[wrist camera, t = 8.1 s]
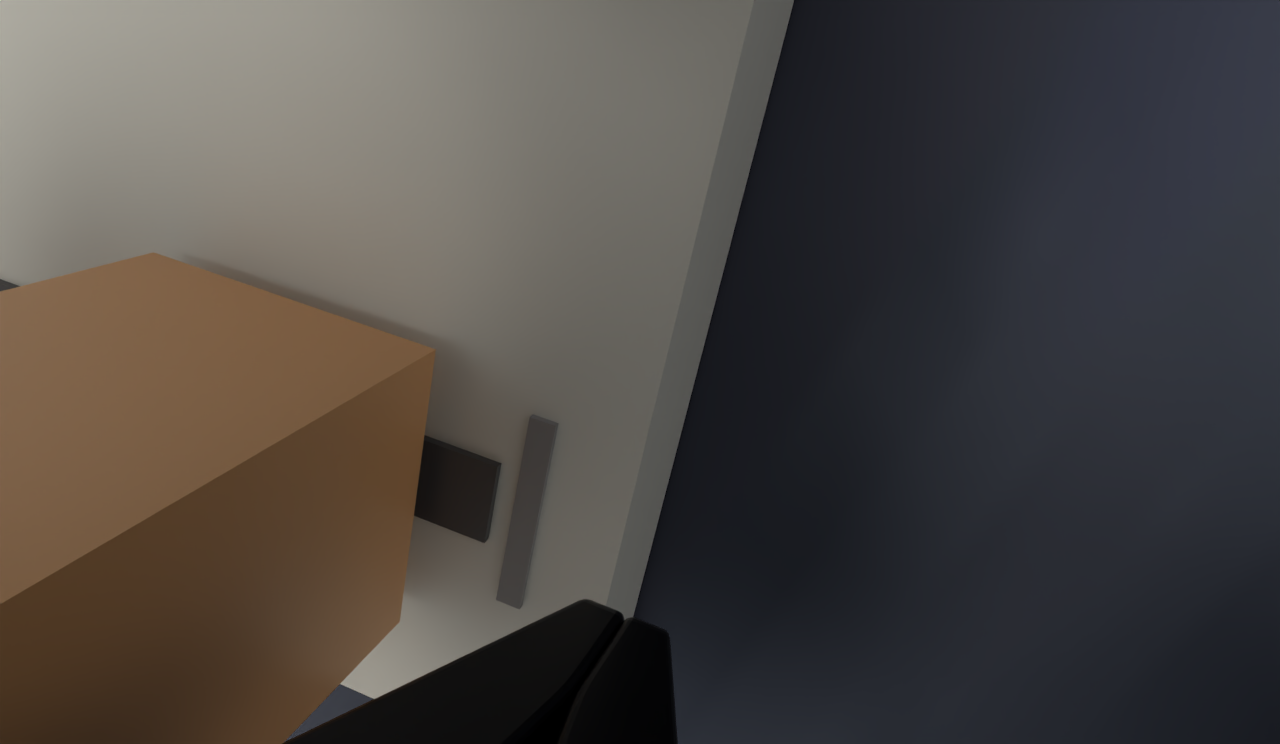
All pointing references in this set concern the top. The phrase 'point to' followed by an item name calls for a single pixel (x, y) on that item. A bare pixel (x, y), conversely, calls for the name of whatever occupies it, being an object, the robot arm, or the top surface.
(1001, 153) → the top surface
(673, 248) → the console
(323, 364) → the orange fader
